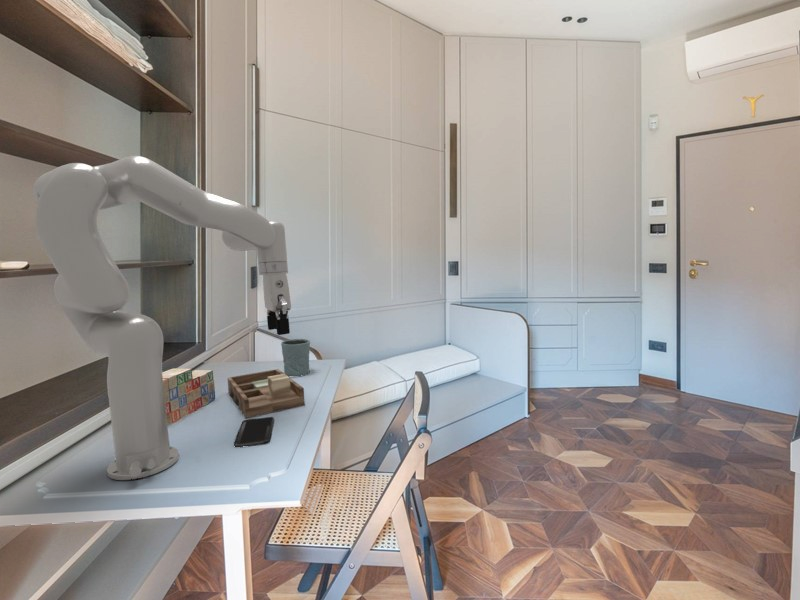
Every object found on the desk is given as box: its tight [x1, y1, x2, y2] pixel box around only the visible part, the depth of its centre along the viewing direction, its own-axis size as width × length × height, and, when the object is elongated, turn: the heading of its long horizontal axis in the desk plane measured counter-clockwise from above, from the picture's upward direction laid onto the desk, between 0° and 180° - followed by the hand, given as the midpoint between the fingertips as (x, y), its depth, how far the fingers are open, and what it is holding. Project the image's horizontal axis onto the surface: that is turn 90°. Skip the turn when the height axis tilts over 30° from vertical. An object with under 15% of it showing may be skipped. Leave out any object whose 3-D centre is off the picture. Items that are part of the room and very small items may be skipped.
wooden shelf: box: [227, 368, 306, 419], centre depth 125 cm, size 26×16×5 cm, turn 32°
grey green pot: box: [280, 338, 311, 377], centre depth 151 cm, size 10×10×12 cm
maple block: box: [268, 373, 291, 398], centre depth 121 cm, size 5×5×5 cm
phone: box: [233, 416, 275, 448], centre depth 100 cm, size 8×1×15 cm
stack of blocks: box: [162, 368, 216, 426], centre depth 116 cm, size 21×6×12 cm, turn 169°
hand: (278, 331), depth 113 cm, fingers open, 9 cm apart
